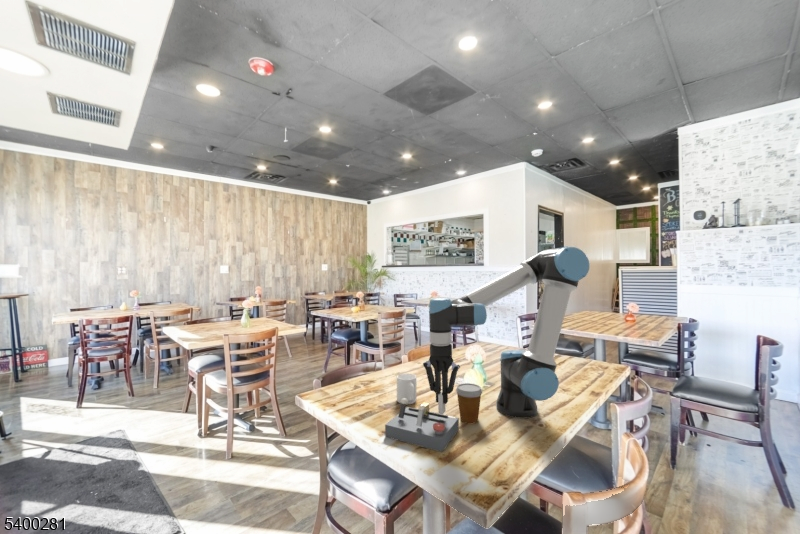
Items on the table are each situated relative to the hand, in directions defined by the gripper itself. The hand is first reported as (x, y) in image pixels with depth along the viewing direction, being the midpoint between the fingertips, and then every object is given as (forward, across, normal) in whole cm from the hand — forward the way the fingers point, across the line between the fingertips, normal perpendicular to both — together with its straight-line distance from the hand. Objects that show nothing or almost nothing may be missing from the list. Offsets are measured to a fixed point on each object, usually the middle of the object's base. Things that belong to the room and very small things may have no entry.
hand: (442, 412), depth 114 cm
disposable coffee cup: (+7, -6, -12) cm, 15 cm away
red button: (+2, -3, +10) cm, 11 cm away
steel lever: (+2, +4, +10) cm, 11 cm away
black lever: (+2, +12, +8) cm, 15 cm away
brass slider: (+2, +6, 0) cm, 7 cm away
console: (+6, +5, +5) cm, 9 cm away
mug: (+6, +21, -16) cm, 27 cm away
